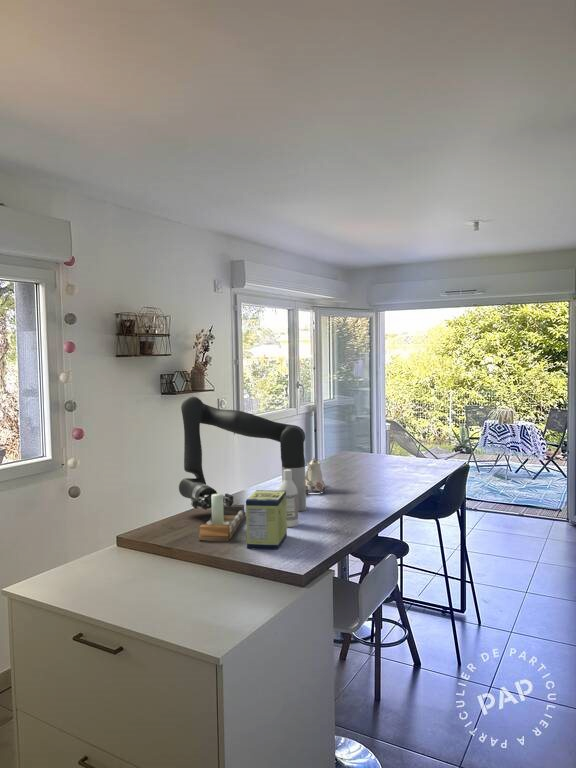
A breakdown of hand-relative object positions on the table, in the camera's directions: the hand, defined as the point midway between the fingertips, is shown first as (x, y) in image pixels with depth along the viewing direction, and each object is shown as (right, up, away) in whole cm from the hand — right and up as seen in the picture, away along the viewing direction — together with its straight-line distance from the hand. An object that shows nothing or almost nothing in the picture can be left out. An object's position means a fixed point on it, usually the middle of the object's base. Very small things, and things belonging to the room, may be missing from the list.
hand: (218, 505), depth 200 cm
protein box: (+17, -11, -8) cm, 22 cm away
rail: (+1, -10, +10) cm, 14 cm away
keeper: (0, -9, +1) cm, 9 cm away
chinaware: (+33, -8, +65) cm, 73 cm away
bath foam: (+24, -10, +12) cm, 28 cm away
